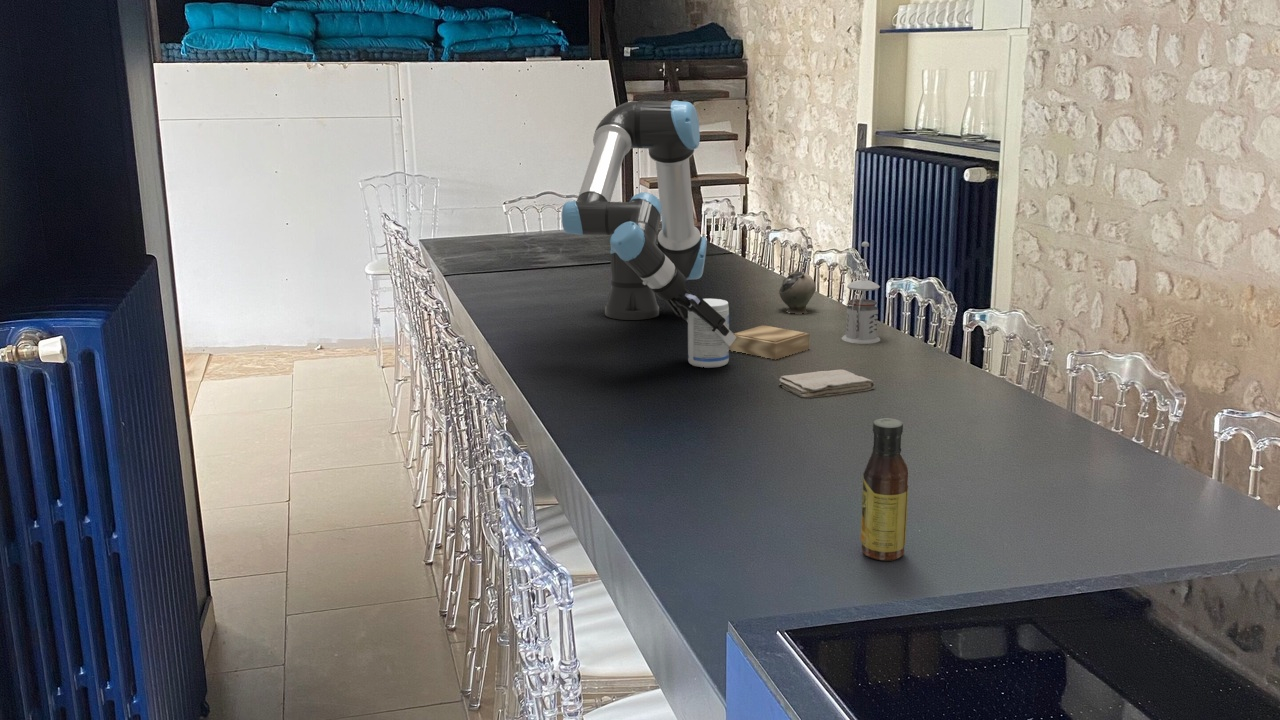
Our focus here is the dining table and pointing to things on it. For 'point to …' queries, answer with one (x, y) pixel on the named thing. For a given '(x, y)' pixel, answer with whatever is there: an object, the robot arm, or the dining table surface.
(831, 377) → the washcloth
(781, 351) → the riser
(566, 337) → the dining table surface
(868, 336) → the french press
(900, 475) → the sauce bottle
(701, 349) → the supplement tub
